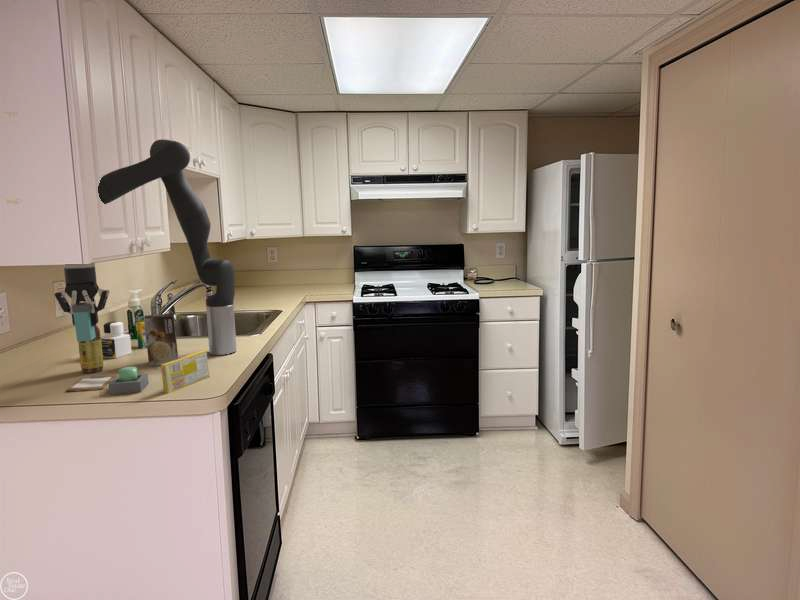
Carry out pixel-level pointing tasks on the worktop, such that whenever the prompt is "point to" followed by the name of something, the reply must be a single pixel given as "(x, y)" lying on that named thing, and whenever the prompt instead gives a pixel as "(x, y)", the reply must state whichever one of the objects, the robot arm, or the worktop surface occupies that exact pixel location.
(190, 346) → the worktop surface
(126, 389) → the button housing
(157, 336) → the coffee box
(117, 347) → the medicine bottle
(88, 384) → the clipboard
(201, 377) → the candy box
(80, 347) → the sauce bottle
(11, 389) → the worktop surface
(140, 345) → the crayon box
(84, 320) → the teal and grey block
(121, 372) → the button
